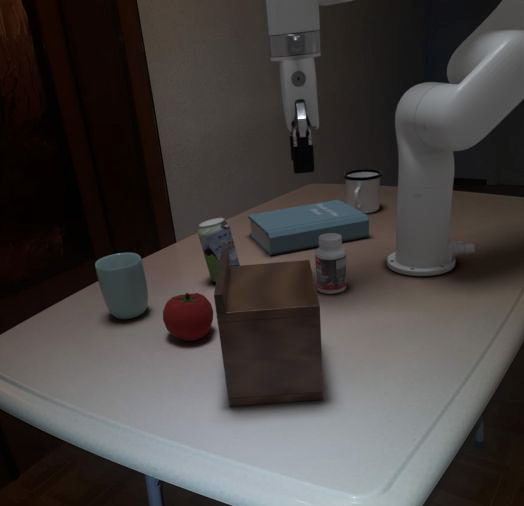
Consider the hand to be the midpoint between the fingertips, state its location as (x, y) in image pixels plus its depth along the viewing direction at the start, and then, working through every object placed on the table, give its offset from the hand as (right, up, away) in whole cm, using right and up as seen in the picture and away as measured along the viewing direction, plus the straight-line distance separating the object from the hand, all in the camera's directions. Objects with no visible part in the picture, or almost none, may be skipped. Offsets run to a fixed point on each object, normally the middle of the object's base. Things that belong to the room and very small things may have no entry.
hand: (302, 165), depth 91 cm
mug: (+19, +5, +50) cm, 53 cm away
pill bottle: (+6, -19, +9) cm, 22 cm away
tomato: (-18, -28, -2) cm, 33 cm away
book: (+4, -5, +36) cm, 36 cm away
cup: (-30, -24, +7) cm, 39 cm away
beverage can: (-14, -17, +17) cm, 28 cm away
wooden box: (-5, -33, -14) cm, 36 cm away
